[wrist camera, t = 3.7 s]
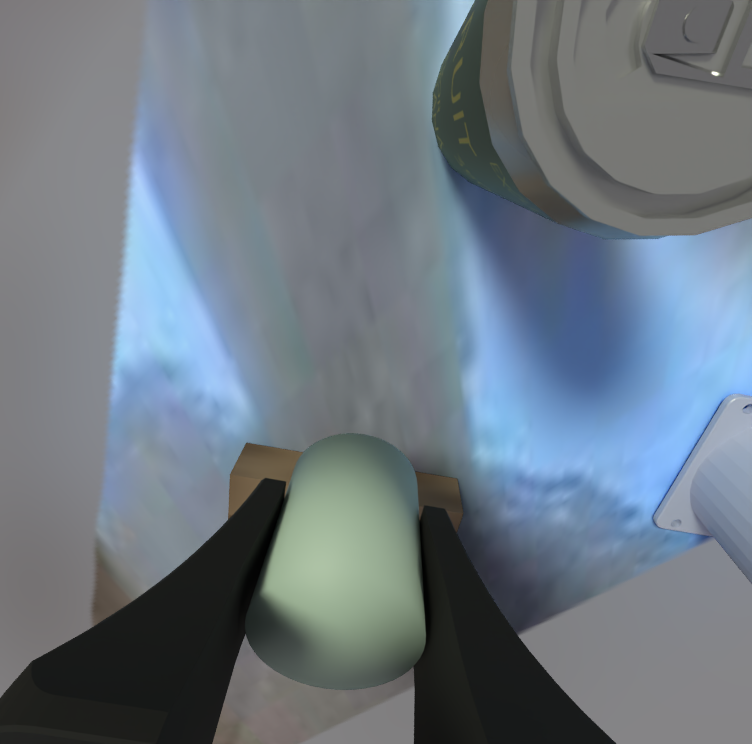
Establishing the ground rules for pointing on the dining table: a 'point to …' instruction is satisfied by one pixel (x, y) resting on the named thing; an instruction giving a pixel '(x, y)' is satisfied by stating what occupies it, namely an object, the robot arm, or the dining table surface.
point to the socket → (281, 464)
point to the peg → (343, 569)
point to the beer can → (604, 111)
